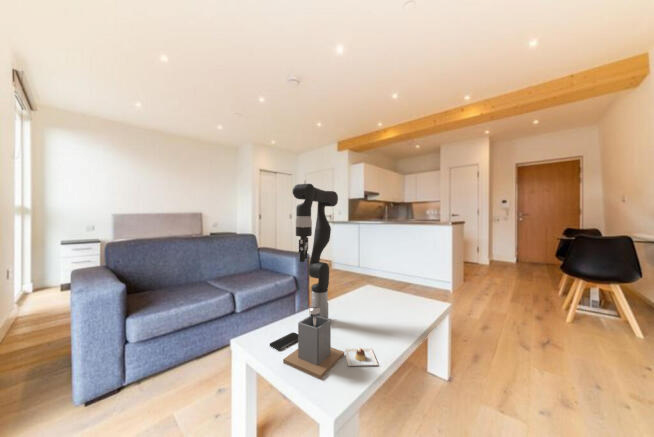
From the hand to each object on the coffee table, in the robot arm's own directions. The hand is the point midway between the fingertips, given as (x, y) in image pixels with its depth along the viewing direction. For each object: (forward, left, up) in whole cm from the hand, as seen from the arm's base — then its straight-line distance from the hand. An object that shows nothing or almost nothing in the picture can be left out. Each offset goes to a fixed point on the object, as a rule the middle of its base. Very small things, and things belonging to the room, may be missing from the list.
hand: (303, 260), depth 112 cm
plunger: (+9, +13, -34) cm, 38 cm away
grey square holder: (+9, +13, -38) cm, 41 cm away
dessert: (-2, +29, -39) cm, 48 cm away
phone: (+5, -6, -39) cm, 39 cm away
